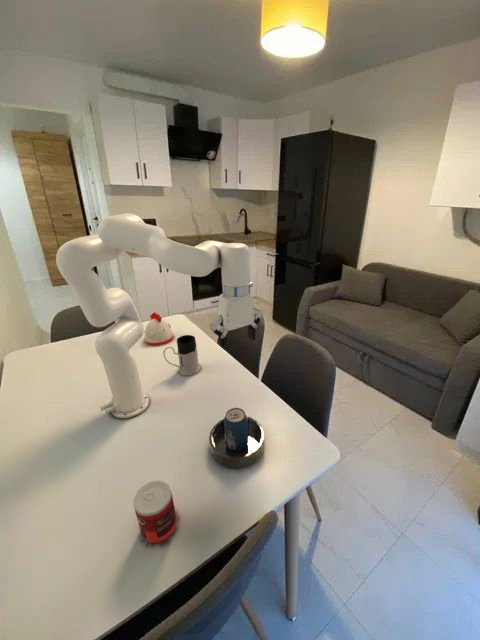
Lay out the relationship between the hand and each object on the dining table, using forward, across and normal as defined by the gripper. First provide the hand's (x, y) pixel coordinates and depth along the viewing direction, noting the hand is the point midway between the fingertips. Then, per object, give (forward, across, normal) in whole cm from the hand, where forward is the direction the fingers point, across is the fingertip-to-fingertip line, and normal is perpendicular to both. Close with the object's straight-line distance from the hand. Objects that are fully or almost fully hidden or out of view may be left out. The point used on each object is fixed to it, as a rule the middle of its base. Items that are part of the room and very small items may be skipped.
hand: (237, 343), depth 87 cm
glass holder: (+30, +6, -38) cm, 49 cm away
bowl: (+30, +7, +9) cm, 32 cm away
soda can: (+30, +7, +9) cm, 32 cm away
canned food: (+30, +34, +19) cm, 49 cm away
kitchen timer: (+30, +5, -73) cm, 79 cm away
